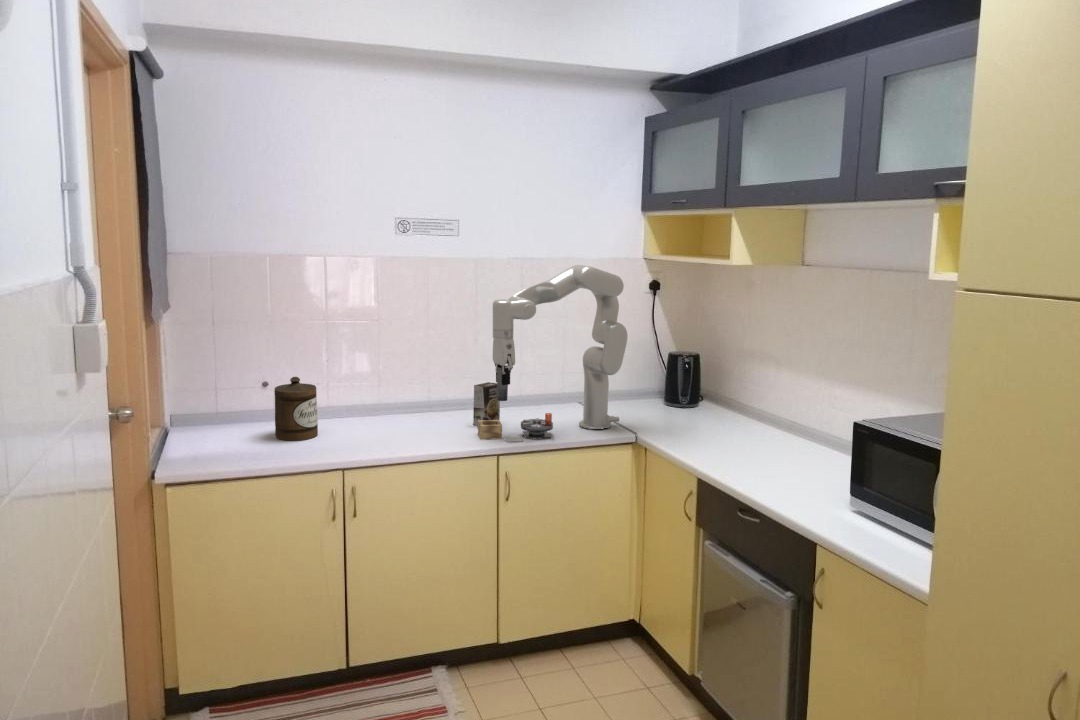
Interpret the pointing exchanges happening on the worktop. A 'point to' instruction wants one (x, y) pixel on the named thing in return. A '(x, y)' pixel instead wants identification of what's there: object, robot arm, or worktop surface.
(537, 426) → the handwheel
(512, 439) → the mat
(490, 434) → the eye block
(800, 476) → the worktop surface
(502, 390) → the dark grey rounded cylinder
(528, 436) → the wheel pedestal
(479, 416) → the coffee box
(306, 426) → the wooden container
